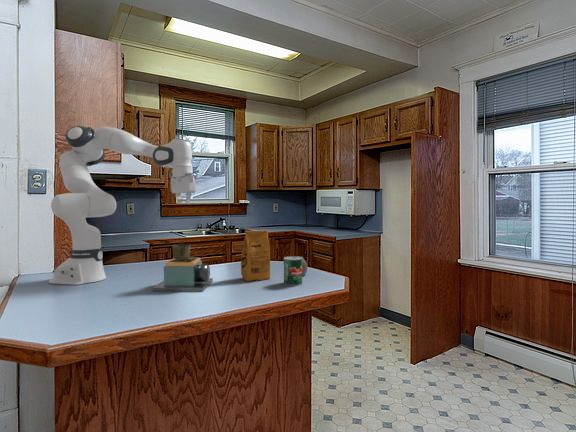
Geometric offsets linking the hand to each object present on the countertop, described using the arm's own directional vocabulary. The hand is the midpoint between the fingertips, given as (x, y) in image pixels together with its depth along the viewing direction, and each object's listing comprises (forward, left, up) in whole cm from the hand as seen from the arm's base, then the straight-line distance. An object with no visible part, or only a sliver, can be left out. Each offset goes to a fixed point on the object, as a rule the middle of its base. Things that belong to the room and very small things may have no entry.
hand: (183, 202), depth 169 cm
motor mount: (+7, -23, -34) cm, 42 cm away
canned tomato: (+52, -18, -34) cm, 65 cm away
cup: (+6, -23, -25) cm, 35 cm away
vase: (+55, -2, -34) cm, 65 cm away
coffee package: (+35, -9, -34) cm, 50 cm away
